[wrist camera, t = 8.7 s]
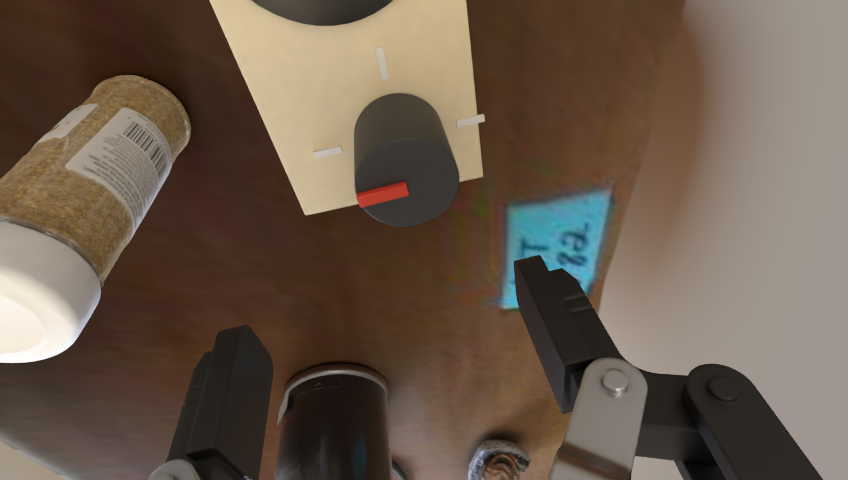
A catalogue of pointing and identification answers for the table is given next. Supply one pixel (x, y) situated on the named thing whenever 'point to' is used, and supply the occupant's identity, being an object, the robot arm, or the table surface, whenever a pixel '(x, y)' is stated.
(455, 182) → the knob
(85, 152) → the sprinkles bottle
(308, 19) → the burner
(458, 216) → the table surface
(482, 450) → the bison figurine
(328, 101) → the hob
